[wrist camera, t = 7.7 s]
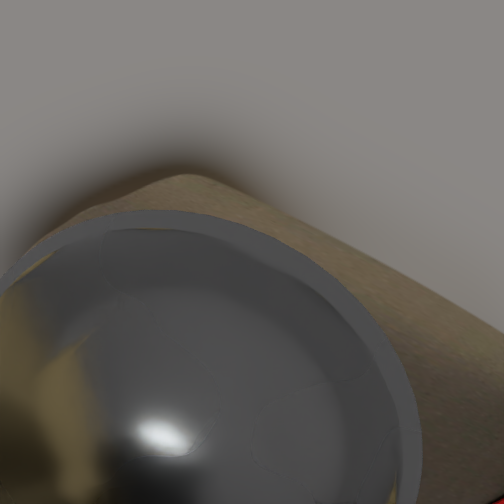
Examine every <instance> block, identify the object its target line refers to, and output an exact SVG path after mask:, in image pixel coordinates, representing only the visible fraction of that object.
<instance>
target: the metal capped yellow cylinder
mask: <svg viewBox="0 0 504 504" xmlns="http://www.w3.org/2000/svg"><path fill="white" fill-rule="evenodd" d="M422 464H423V453H422V430H421V424H420V419H419V414H418V409H417V404H416V400H415V396H414V393H413V391H412V388H411V385H410V383H409V380H408V377H407V375H406V372H405V369H404V367H403V365H402V363H401V361H400V359H399V357H398V356H397V354H396V352H395V350H394V348H393V347H392V345H391V343H390V341H389V340H388V338H387V336H386V334H385V333H384V332H383V330H382V329H381V328H380V327H379V325H378V324H377V323H376V321H375V320H374V319H373V317H372V316H371V315H370V313H369V312H368V311H367V310H366V308H365V307H364V306H363V305H362V304H361V303H360V302H359V301H358V300H357V299H356V298H355V297H354V296H353V295H352V294H351V293H350V292H349V291H348V290H347V289H346V288H345V287H344V286H343V285H342V284H341V283H340V282H339V281H338V280H337V279H336V278H334V277H333V276H332V275H331V274H329V273H328V272H327V271H325V270H324V269H323V268H321V267H320V266H319V265H317V264H316V263H315V262H313V261H312V260H311V259H309V258H308V257H307V256H305V255H303V254H302V253H300V252H298V251H296V250H295V249H293V248H291V247H289V246H288V245H286V244H284V243H282V242H281V241H279V240H277V239H275V238H273V237H271V236H268V235H266V234H264V233H261V232H259V231H257V230H254V229H252V228H249V227H247V226H245V225H242V224H239V223H235V222H232V221H228V220H224V219H221V218H217V217H214V216H210V215H204V214H198V213H191V212H184V211H177V210H139V211H130V212H121V213H114V214H110V215H106V216H102V217H98V218H94V219H90V220H87V221H84V222H82V223H79V224H77V225H74V226H72V227H69V228H67V229H64V230H62V231H60V232H59V233H57V234H55V235H53V236H51V237H50V238H48V239H46V240H45V241H43V242H41V243H39V244H38V245H37V246H36V247H34V248H33V249H32V250H30V251H29V252H28V253H26V254H25V255H24V256H23V257H21V258H20V259H19V260H18V261H17V262H16V263H15V264H14V265H13V266H12V267H11V268H10V269H9V270H8V271H7V272H6V273H5V274H4V275H3V276H2V278H1V279H0V504H415V502H416V499H417V496H418V492H419V486H420V479H421V472H422Z"/></svg>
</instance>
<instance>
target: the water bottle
mask: <svg viewBox="0 0 504 504" xmlns="http://www.w3.org/2000/svg"><path fill="white" fill-rule="evenodd" d="M493 504H504V498H503V499H501V500H499V501H497V502H495V503H493Z"/></svg>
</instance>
